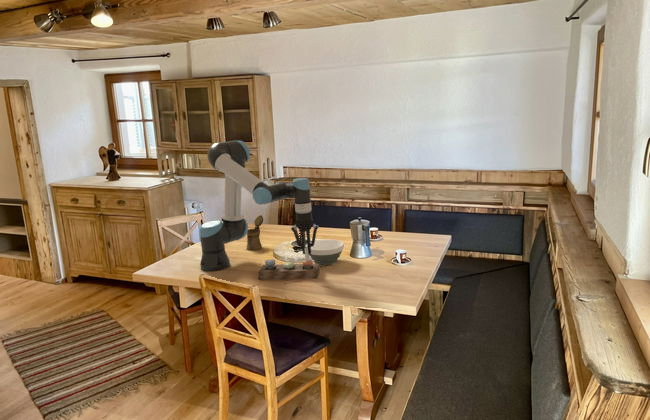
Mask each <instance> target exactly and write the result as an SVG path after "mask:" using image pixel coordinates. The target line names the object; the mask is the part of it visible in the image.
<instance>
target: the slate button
mask: <svg viewBox="0 0 650 420" xmlns="http://www.w3.org/2000/svg"><path fill="white" fill-rule="evenodd" d="M264 262H265V264H264V265H267V269H268V270H274V265H276V260H275V259H267V260H265V261H264Z"/></svg>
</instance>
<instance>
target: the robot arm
mask: <svg viewBox="0 0 650 420" xmlns="http://www.w3.org/2000/svg"><path fill="white" fill-rule="evenodd" d="M206 155H207V156H206V158H207V161H208V162H209V165H210V166H211V167H212V168H214V170H216V171H218V172H222V173H223V174H224V213H223V214H222V215H221V220H212V221H211V220H210V221H206V222H205V223H203V224H201V225H200V227H199V236H200V237H199V238H200V245H201V246H200V247H201V253H202V254H201V257H200V264H199V265H200V270H202V271H204V272H214V271H216V272H217V271H220V270H223V269H227V268H228V267H230V265H231V260H230V259H229V256H228V254H227V252H226V247H225V245H226V244H228V243H232V242H235V241H239V240H241V239H243V238H245V237H246V236H247V231H248V230H249V225H248V223H247V220H246V219H245V217H244V215H243V214H242V188H243V189H244V190H246V191H247V192H249V193H250V194H252V199H253V200H254V203H256V204H257V205H260V206H261V205H268V204H271V203H274V202H277V201H281V200H286V199H293V200H294V209H295V224H294V225H292V227H291V229H290V230H291V231H292V232H293V235H294V238H295V240H296V243H297V246H298V247H300V248H301V250H302V255H304V260H306V261H309V260H311V257H310V255H309V254H311V247H312V246H314V244H315V241H316V238H317V236H316V235H317V231H318V229H319V225H318V224H317V225H316V224H315V223H314V220H313V212H312V200H311V185H310V180H309V179H308V178H307V177H299V178H294V179H293V180H292V182H287V181H277V182H276V183H274V184H271V185H268V184H267V183H265V182H263V181H262V180H261V179H260V178H259V177H257V176H256V175H254V174H253V173H252V172H251V171H249V170H247V169H246V163H247V162H248V161H249V160H250V159H251V152H250V148H249V146H248V145H247V144H246V142H245V141H243V140H229V141H228V140H227V141H220V142H215V143H213V144H211V145H210V147H209V149H208V150H207V153H206ZM311 229H313V231H312V238H311ZM298 230H299V231H300V235H299V233H298ZM305 235H306V238H305ZM300 236H301V237H300ZM311 242H312V243H311ZM306 244H307V247H306Z"/></svg>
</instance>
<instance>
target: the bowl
mask: <svg viewBox="0 0 650 420" xmlns="http://www.w3.org/2000/svg"><path fill="white" fill-rule="evenodd" d="M311 243H312V241H311ZM305 247H307V243H305ZM344 247H345V243H344V242H343V241H342V240H339V239H332V238H331V239H330V238H329V239H318V240H315V244H314V246H312V247H311V254H309V257H310V259H311V260H312V261H313V262H314V264H320V266H331V265H333V264H336V263H337V261H338V259H339V258H340V256H341V254H342V252H343V250H344Z"/></svg>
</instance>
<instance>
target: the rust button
mask: <svg viewBox="0 0 650 420" xmlns="http://www.w3.org/2000/svg"><path fill="white" fill-rule="evenodd" d="M313 262H314V261H313V260H312V259H310V260H309V261H306V260H305V259H303V260H302V261H301V264H303V265H304V268H305V269H311V265H312V264H314V263H313Z"/></svg>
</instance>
